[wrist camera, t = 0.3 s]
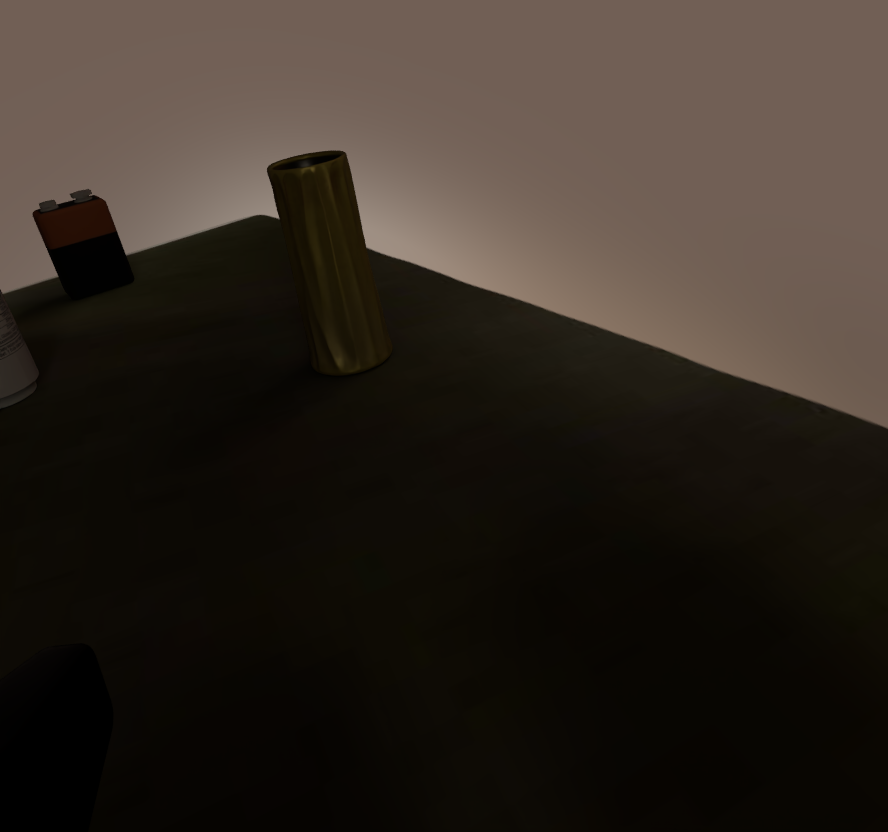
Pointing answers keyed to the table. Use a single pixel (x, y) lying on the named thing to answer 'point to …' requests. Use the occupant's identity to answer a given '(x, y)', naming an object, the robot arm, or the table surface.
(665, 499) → the table surface
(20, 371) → the energy drink can
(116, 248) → the battery
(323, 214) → the vase
